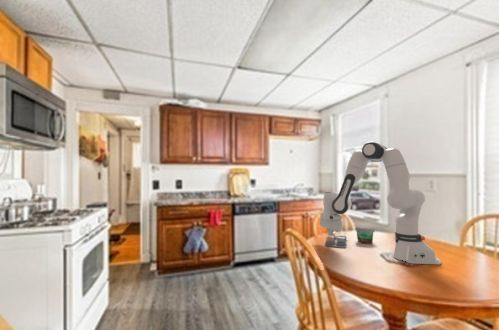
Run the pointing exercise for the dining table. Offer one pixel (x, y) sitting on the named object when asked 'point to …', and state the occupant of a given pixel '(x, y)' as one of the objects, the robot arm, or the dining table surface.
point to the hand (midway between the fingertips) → (330, 235)
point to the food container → (365, 235)
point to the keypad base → (336, 243)
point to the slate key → (341, 239)
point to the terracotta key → (330, 238)
